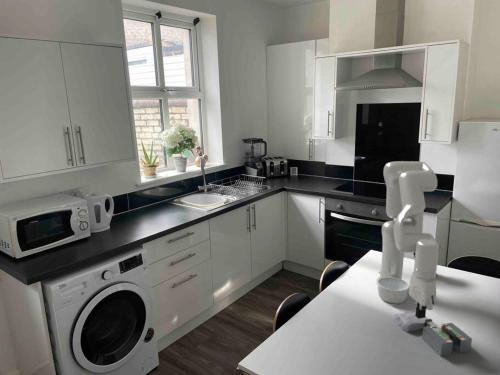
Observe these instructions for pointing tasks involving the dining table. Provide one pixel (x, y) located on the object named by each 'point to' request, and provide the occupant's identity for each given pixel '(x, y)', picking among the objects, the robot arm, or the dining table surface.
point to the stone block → (409, 321)
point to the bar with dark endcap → (429, 322)
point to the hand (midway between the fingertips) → (420, 317)
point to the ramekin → (392, 289)
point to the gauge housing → (446, 339)
